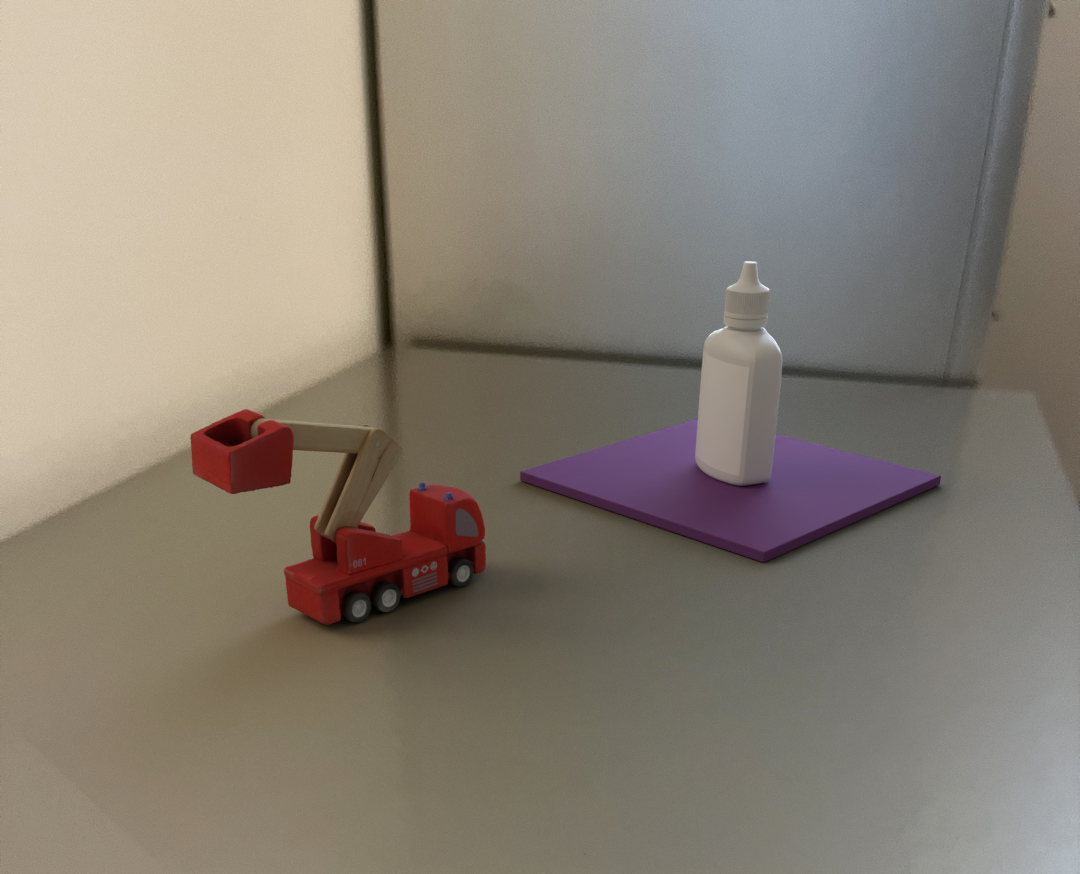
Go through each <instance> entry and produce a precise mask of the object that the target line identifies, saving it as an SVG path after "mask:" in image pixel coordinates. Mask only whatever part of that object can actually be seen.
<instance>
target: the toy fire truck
mask: <svg viewBox="0 0 1080 874" xmlns="http://www.w3.org/2000/svg"><path fill="white" fill-rule="evenodd" d="M403 448H404V447H403V446H402V445H401V444H400V443H399V442H397V441H396V440H395V439H394V438H393V437H392V436H391V435H389V434H388V433H387V432H386V431H384V430H383V429H381V428H379V427H372V426H371V425H370V424H368V423H364V422H363V423H360V424H359V425H352V424H351V425H350V424H339V423H327V422H314V421H302V420H301V421H300V420H290V419H275V418H274V419H273V418H267V417H265V416H264V415H263V414H260V413H258V412H256V411H253V410H252V409H248V408H244V409H242V410H240V411H236V412H234V413H233V414H230V415H228V416H226V417H223V418H222V419H219V420H217V421H215V422H211V423H210V424H209V425H206V426H205V427H202V428H200V429H198V430H196V431H195V432H192V433H191V434H190V450H191V470H192V474H193V475H194V476H195V477H197V478H199V479H201V480H204V481H205V482H208V483H209V484H211V485H213V486H214V487H217V488H218V489H220V490H222V491H224V492H226V493H227V494H230V495H237V494H240V493H247V492H254V491H259V490H262V489H263V490H264V489H268V488H269V489H273V488H274V487H276V488H277V487H280V486H285V485H290V484H291V482H292V480H291V479H292V469H293V459H294V458H293V457H294V454H293V451H305V452H319V453H321V452H323V453H339V454H341V453H342V454H344V455H343V457H342V460H341V461H340V465H339V467H338V469H337V471H336V473H335V476H334V478H333V481H332V483H331V486H330V488H329V491H328V493H327V495H326V497H325V500H324V502H323V504H322V507H321V509H320V512H319V514H316V515H313V516H312V517H311V518H310V521H309V532H310V546H311V553H312V557H313V558H310V559H307V560H304V561H301V562H298V563H294V564H291V565H287V566H285V567H284V569H283V574H284V577H285V589H286V598H287V603H288V606H289V607H290V608H292V609H294V610H296V611H298V612H300V613H302V614H303V615H305V616H307V617H310V618H311V619H313V620H315V621H317V622H318V623H321V624H323V625H327V626H328V625H331V624H333V623H334V624H335V623H337V622H339V621H341V620H342V615H343V617H344V618H345V619H346V620H347V621H349V622H352V623H361V622H364V621H365V620H366V619H367V618H368V617H369V616H370V613H371V611H372V605H373V606H374V608H375V609H376V610H377V611H379V612H382V613H389V612H390V613H391V612H392V611H394V610H395V609H396V608H397V607H398V605H399V603H400V601H401V598H403V599H409V598H411V597H414V596H417V595H418V596H419V595H420V594H425V593H427V592H429V591H433V590H437V589H438V588H442V587H445V586H447V585H448V584H449V583H451V584H452V585H453V586H455V587H459V588H460V587H465V586H467V585H469V583H470V582H471V581H472V579H473V577H474V575H480V574H482V573H483V572H484V571H485V570H486V566H487V565H486V564H487V554H486V552H487V547H486V546H487V545H486V542H484V539H485V537H486V525H485V522H484V517H483V514H482V510H481V507H480V506H479V503H478V502H477V500H476V499H475V498H474V497H473V496H472V495H471V494H469V493H468V492H467V491H465V490H463V489H461V488H458V487H454V486H450V485H442V484H426V483H425V482H419V484H418V487H415V488H412V489H409V497H408V500H409V518H410V519H409V523H410V524H409V530H407V531H403V532H399V533H395V534H392V535H391V534H387V533H382V532H378V531H377V530H376V527H375V526H374V525H371V524H369V523H367V522H364V521H362V520H363V519H364V517H365V515H366V513H367V512H368V510H369V508H370V507H371V506H372V503H373V502H374V500H375V499H376V497H377V495H378V494H379V492H380V491H381V489H382V488H383V486H384V485H385V483H386V481H387V479H388V478H389V476H390V474H391V473H392V471H393V470H394V468H395V466H396V465H397V463H398V462H399V460H400V458H401V457H402V455H403V452H404V449H403Z"/></svg>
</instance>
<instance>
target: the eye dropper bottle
mask: <svg viewBox="0 0 1080 874" xmlns="http://www.w3.org/2000/svg"><path fill="white" fill-rule="evenodd" d="M758 272H759V271H758V262H757V261H754V260H753V261H752V260H751V261H750V260H747V261H743V265H742V269H741V272H740V276H739V279H738V280H737V281H736V282H735V283H733V284H731V285H729V286H728V287H727V288H726V289H725V299H724V312H723V325H724V327H723V328H719V329H717V330H714V331H712V332H711V333H710V334H709V335H708V336H707V337H706V339H705V340H704V344H703V349H702V352H703V353H702V361H701V373H700V386H699V398H698V412H697V418H698V423H697V437H696V451H695V460H696V463H697V465H698V467H699V468H700V469H701V470H702V471H703V472H704V473H705V474H707V475H709V476H710V477H713V478H715V479H717V480H720V481H722V482H725V483H729V484H732V485H737V486H746V485H753V484H760V483H765V482H768V481H769V479H770V477H771V472H772V463H773V454H774V444H775V435H776V434H777V427H778V425H777V423H778V415H779V405H780V396H781V395H780V394H781V387H782V386H781V385H782V375H783V374H782V373H783V353H782V351H781V348H780V346H779V345H778V343H777V341H776V340H775V338H773V336H771V334H770V333H769V332H768V331H767V330H766V328H765V327H766V326H767V324H768V315H769V305H770V295H771V289H770V288H768V287H767V286H765V285H764V284H762V283H761V282H760V280H759V273H758Z"/></svg>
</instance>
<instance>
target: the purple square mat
mask: <svg viewBox="0 0 1080 874" xmlns="http://www.w3.org/2000/svg"><path fill="white" fill-rule="evenodd" d="M697 423H698V417H697V418H694V419H691V420H687V421H684V422H681V423H678V424H677V423H676V424H674V425H670V426H667V427H664V428H661V429H658V430H657V429H656V430H655V431H650V432H648V433H647V432H646V433H644V434H641V435H637V436H634V437H631V438H627V439H624V440H621V441H617V442H614V443H611V444H608V445H604V446H601V447H598V448H594V449H591V450H587V451H584V452H581V453H577V454H574V455H571V456H567V457H564V458H561V459H557V460H554V461H551V462H547V463H544V464H541V465H537V466H534V467H530V468H528V469H523V470H521V471H520V472H519V480H520V482H523V483H526V484H529V485H532V486H536V487H538V488H540V489H544V490H547V491H550V492H552V493H556V494H559V495H562V496H564V497H567V498H570V499H574V500H576V501H579V502H583V503H586V504H589V505H592V506H595V507H598V508H600V509H602V510H603V509H604V510H606V511H609V512H612V513H615V514H618V515H621V516H624V517H627V518H630V519H633V520H636V521H639V522H642V523H645V524H648V525H651V526H654V527H657V528H660V529H663V530H666V531H668V532H672V533H674V534H677V535H680V536H684V537H687V538H688V539H689V538H690V539H693V540H696V541H699V542H701V543H704V544H707V545H711V546H712V547H713V546H714V547H716V548H719V549H722V550H725V551H728V552H730V553H734V554H737V555H739V556H743V557H746V558H749V559H752V560H755V561H758V562H761V563H765V562H768V561H770V560H772V559H775V558H777V557H779V556H782V555H784V554H786V553H789V552H790V551H793V550H795V549H798V548H799V547H802V546H804V545H806V544H809V543H811V542H813V541H815V540H818V539H820V538H822V537H824V536H827V535H828V534H831V533H833V532H836V531H838V530H841V529H843V528H845V527H847V526H849V525H851V524H854V523H856V522H858V521H861V520H862V519H866V518H867V517H869V516H872V515H874V514H876V513H879V512H881V511H883V510H885V509H888V508H891V507H893V506H894V505H896V504H900V503H901V502H903V501H906V500H909V499H910V498H912V497H915V496H917V495H920V494H922V493H924V492H926V491H929V490H931V489H933V488H935V487H937V486H939V485H941V479H942V475H940V474H937V473H933V472H929V471H924V470H922V469H917V468H914V467H909V466H906V465H902V464H897V463H893V462H890V461H885V460H881V459H878V458H875V457H869V456H866V455H862V454H858V453H854V452H850V451H846V450H842V449H839V448H834V447H831V446H826V445H824V444H823V445H822V444H818V443H814V442H811V441H808V440H803V439H799V438H795V437H791V436H787V435H783V434H779V433H776V435H775V444H774V454H773V463H772V472H771V477H770V479H769V481H768V482H765V483H760V484H753V485H746V486H737V485H732V484H729V483H725V482H722V481H720V480H717V479H715V478H713V477H710V476H709V475H707V474H705V473H704V472H703V471H702V470H701V469H700V468H699V467H698V465H697V463H696V460H695V451H696V437H697Z"/></svg>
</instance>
